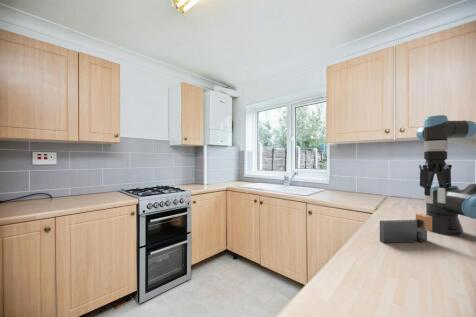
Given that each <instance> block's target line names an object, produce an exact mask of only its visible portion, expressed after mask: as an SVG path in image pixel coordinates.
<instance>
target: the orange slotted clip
mask: <svg viewBox="0 0 476 317" xmlns="http://www.w3.org/2000/svg"><path fill="white" fill-rule="evenodd" d="M415 220H422V221H424V230H425V231H427V232H431V231H432V216H428V215H426V214H425V213H424V214H423V213H416V214H415Z"/></svg>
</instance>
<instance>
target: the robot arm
mask: <svg viewBox="0 0 476 317" xmlns="http://www.w3.org/2000/svg"><path fill="white" fill-rule="evenodd" d="M416 137H417V139H418V140H419V141H423V142H424V143H423V148H424V152H423V158H424V160H425V163H423V164H419V165H418V168H419V187H421V188H422V189H424V191H423V192H424V197H425V198H424V199H425V209H426V210H425V215H428V216H432V231H430V232H431V233H435V234H440V235H446V236H455V237H458V236H463V235H464V229H463V227H462V224H461V221H460V219H459V216H463V217H467V218H470V219H473V220H474V219H475V220H476V182H473V183H469V184H468V185H467V186H466V187H465V188H463V189H460V188H459V187H458V186H457V185H452V171H451V170H452V167H453V165H452V164H447V162H446V160H448V144H451V145H458V146H463V147H468V148H475V149H476V122H474V121H471V120H465V119H464V120H463V119H462V120H448V116H447V115H444V114H438V115H430V116H426V117H425V119H424V121H423V126H421V127H419V128H418V129H417V130H416ZM435 175H436V178H437V182H438V185H433V182H434V177H435Z"/></svg>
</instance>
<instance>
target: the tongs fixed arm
mask: <svg viewBox="0 0 476 317" xmlns="http://www.w3.org/2000/svg"><path fill="white" fill-rule="evenodd" d="M384 221H416V222H417V243H419V244H420V243H423V242H426V241H428V231H425V230H424V221H422V220H416V219H397V220H396V219H395V220H392V219H391V220H390V219H389V220H379V242H381V243H383V242H382V222H384Z"/></svg>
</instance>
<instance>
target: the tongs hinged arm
mask: <svg viewBox="0 0 476 317" xmlns="http://www.w3.org/2000/svg"><path fill="white" fill-rule="evenodd" d="M383 221H384V222H382V242H381V243H384V244H385V243H414V242H415V243H416V242H417V222H416V221H386V220H383ZM417 243H418V242H417Z"/></svg>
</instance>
